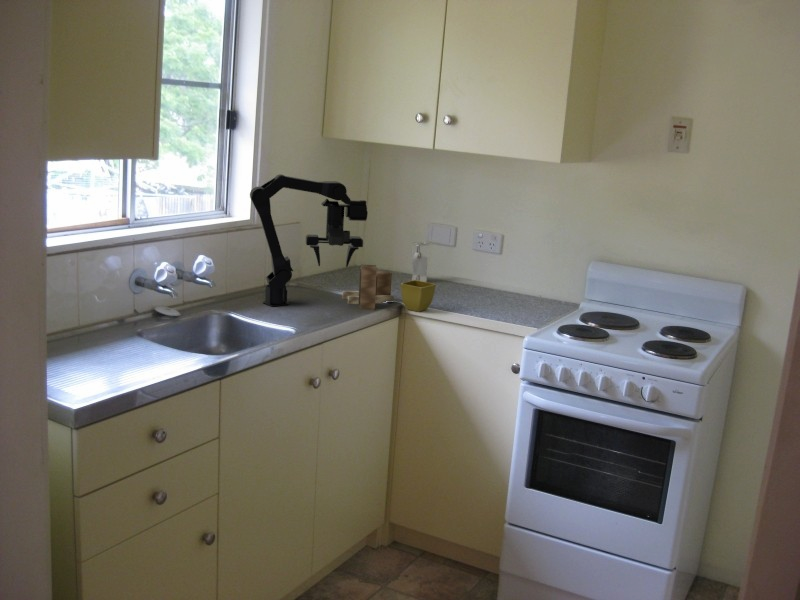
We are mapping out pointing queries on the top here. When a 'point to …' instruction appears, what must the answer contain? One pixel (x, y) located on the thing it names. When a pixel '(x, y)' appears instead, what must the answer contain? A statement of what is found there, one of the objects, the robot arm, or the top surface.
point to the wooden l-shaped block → (381, 289)
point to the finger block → (367, 286)
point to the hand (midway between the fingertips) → (332, 266)
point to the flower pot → (417, 294)
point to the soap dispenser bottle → (420, 260)
